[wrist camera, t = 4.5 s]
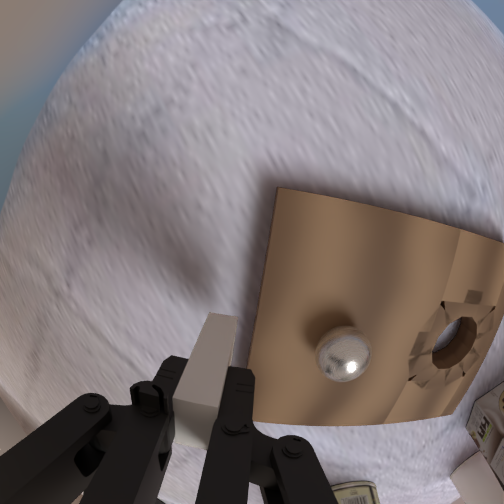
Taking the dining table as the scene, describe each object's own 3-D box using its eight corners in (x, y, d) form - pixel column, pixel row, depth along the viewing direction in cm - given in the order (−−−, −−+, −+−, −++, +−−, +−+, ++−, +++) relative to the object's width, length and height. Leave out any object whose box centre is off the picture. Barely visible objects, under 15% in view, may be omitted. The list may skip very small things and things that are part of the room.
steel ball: (305, 358, 16) (312, 392, 13) (318, 312, 15) (329, 342, 12) (353, 362, 16) (366, 393, 13) (369, 318, 15) (388, 346, 12)
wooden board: (240, 397, 20) (238, 419, 18) (276, 186, 16) (278, 187, 14) (441, 399, 20) (451, 414, 17) (504, 243, 16) (522, 250, 13)
